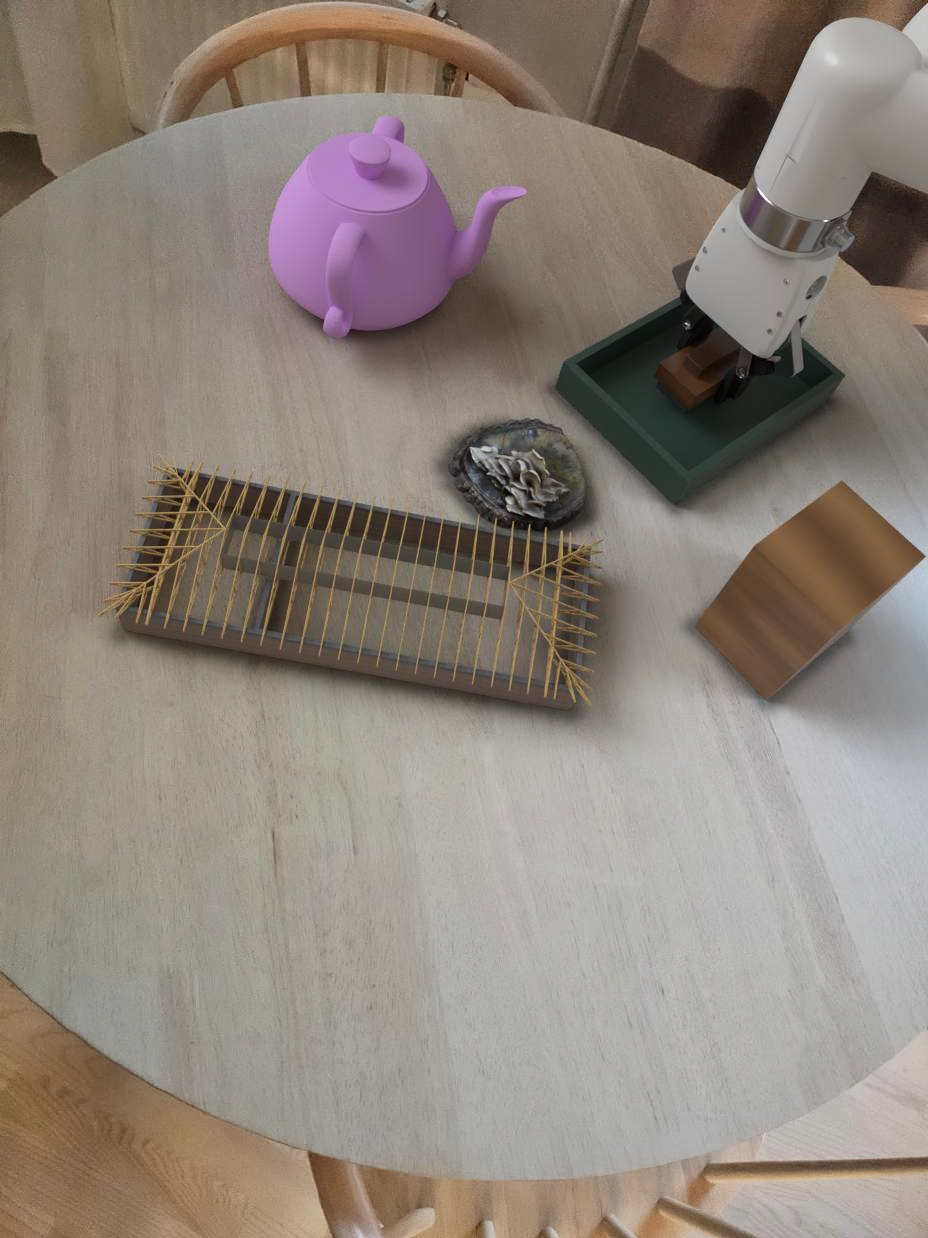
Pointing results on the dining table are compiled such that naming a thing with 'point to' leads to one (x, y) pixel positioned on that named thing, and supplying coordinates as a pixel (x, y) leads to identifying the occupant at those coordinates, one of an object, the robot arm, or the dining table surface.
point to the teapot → (373, 233)
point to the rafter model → (354, 581)
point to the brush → (697, 370)
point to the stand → (806, 587)
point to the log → (520, 475)
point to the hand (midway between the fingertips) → (706, 376)
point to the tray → (658, 430)
